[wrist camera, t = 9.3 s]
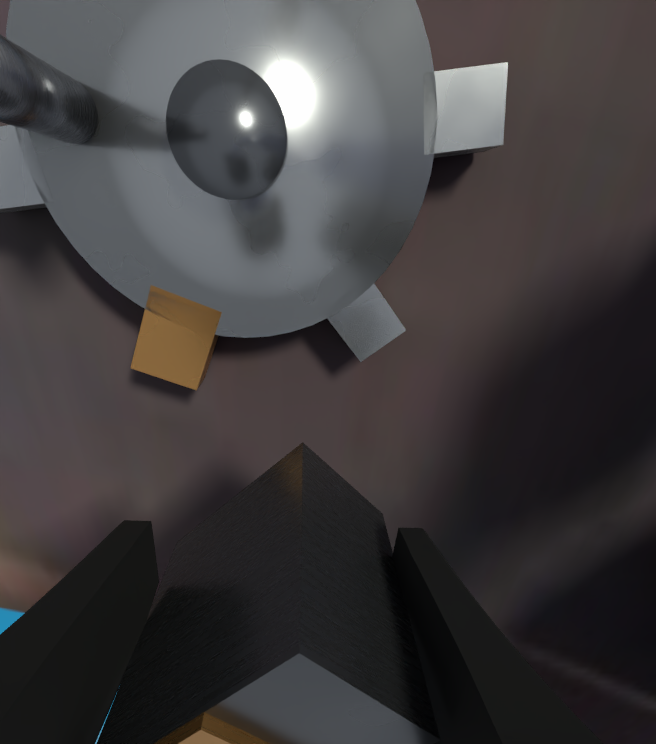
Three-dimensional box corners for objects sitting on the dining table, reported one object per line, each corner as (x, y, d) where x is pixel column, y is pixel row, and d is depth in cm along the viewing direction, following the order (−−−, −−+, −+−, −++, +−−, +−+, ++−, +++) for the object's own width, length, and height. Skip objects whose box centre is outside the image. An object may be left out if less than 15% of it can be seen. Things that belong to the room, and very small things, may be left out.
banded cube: (382, 513, 11) (444, 756, 6) (261, 597, 12) (229, 859, 7) (302, 442, 9) (299, 670, 5) (177, 542, 11) (70, 809, 6)
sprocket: (402, -409, 8) (522, -1186, 4) (524, 285, 14) (623, 315, 10) (-184, -58, 9) (-602, -294, 5) (156, 429, 15) (98, 511, 11)
